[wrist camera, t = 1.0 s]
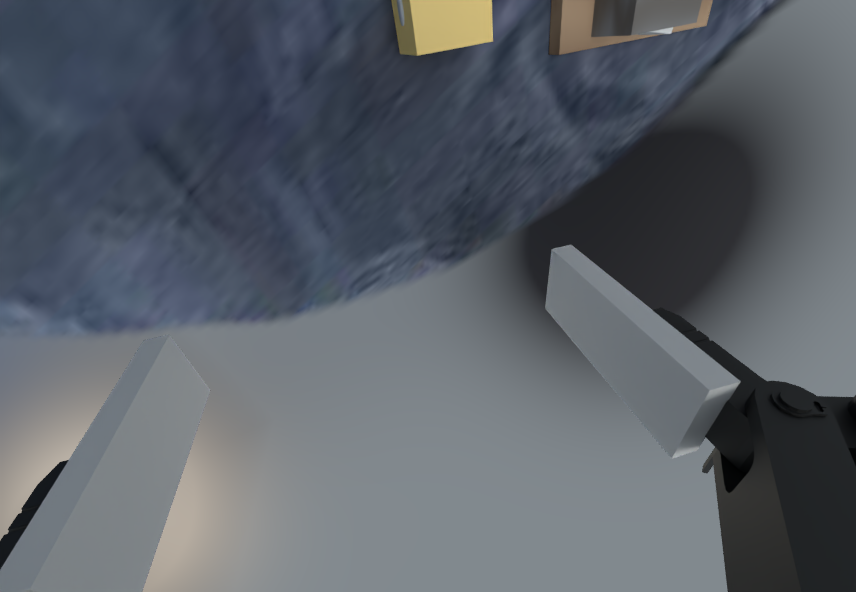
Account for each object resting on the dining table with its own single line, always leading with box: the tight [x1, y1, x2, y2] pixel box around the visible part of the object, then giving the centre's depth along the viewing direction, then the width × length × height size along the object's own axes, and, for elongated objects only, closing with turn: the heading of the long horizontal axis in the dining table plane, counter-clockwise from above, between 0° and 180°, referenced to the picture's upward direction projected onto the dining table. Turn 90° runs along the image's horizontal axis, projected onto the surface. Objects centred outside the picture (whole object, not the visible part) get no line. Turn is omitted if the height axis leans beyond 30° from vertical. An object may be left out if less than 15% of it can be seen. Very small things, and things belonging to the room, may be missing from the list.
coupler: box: [391, 0, 493, 56], centre depth 21 cm, size 5×5×6 cm
